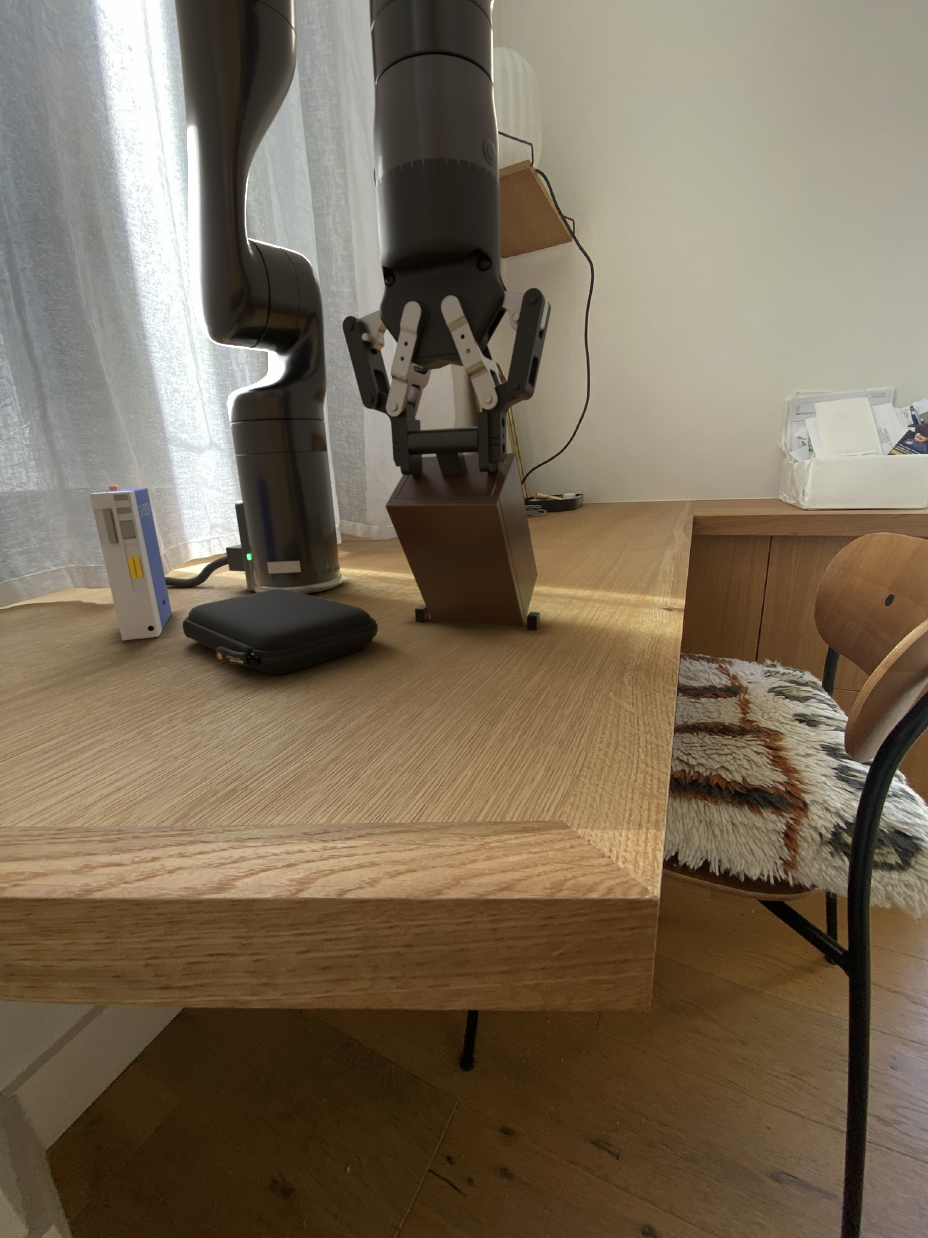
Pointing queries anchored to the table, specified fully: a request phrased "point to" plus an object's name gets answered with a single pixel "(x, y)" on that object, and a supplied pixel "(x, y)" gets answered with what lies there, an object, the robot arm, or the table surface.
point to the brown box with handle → (465, 531)
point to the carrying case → (279, 630)
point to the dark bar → (532, 617)
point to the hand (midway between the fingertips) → (449, 472)
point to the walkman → (132, 561)
